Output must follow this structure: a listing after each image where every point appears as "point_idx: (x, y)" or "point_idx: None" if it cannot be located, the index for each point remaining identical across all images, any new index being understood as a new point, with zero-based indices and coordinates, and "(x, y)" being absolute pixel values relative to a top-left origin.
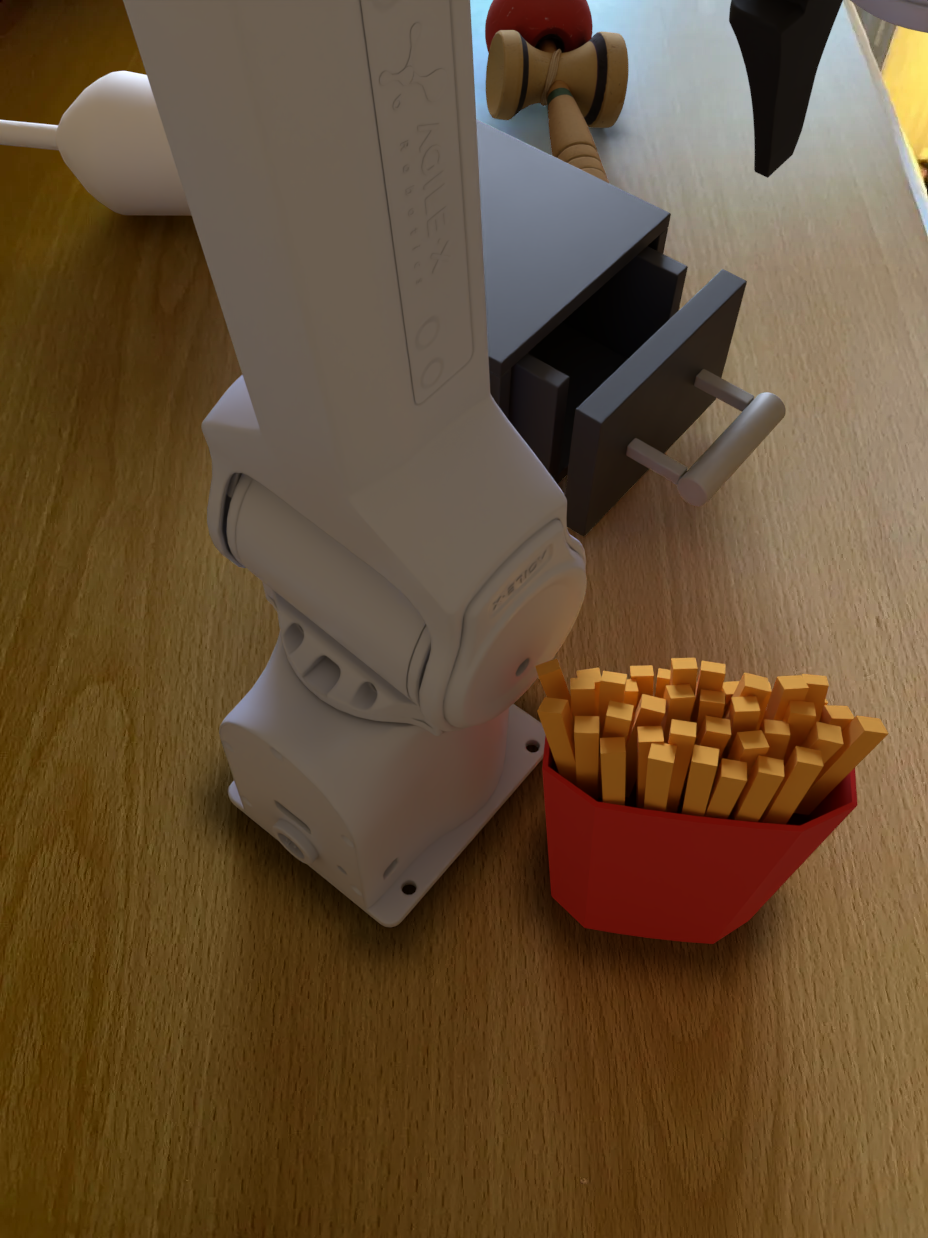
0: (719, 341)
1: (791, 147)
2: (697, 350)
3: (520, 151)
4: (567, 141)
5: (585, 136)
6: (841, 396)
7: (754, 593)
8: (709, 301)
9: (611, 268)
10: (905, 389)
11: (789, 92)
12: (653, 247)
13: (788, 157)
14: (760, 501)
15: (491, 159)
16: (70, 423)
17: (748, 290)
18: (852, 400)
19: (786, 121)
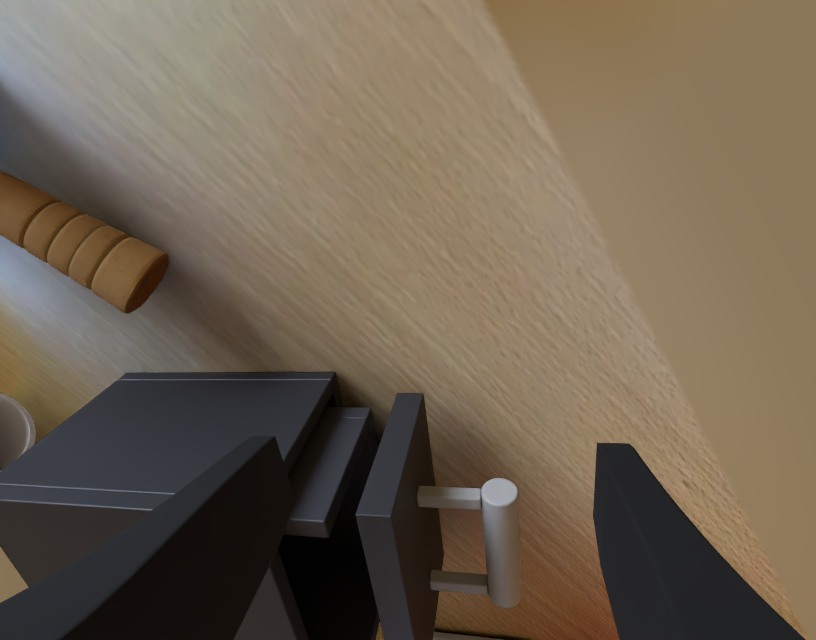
0: (409, 490)
1: (269, 462)
2: (411, 551)
3: (67, 519)
4: (13, 241)
5: (12, 217)
6: (515, 279)
7: (578, 509)
8: (384, 559)
9: (285, 603)
10: (573, 217)
11: (209, 625)
12: None
13: (278, 452)
14: (527, 437)
15: (67, 542)
16: None
17: (326, 203)
18: (529, 276)
19: (244, 557)
